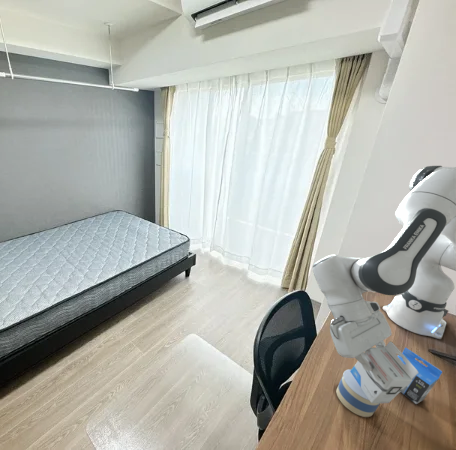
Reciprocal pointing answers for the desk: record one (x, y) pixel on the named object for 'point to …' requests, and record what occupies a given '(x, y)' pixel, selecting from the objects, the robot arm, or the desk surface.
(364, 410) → the yogurt tub
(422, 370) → the label tape box
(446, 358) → the desk surface
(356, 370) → the ink box
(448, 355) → the desk surface
